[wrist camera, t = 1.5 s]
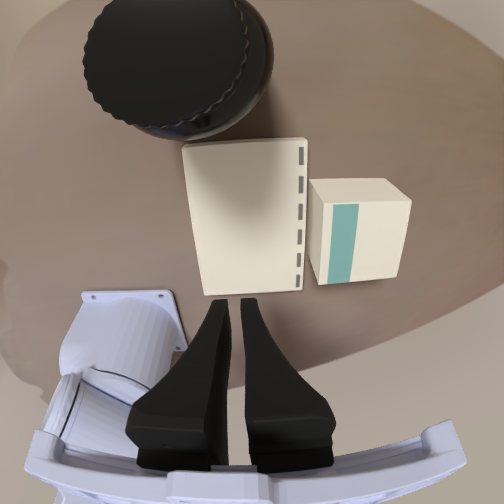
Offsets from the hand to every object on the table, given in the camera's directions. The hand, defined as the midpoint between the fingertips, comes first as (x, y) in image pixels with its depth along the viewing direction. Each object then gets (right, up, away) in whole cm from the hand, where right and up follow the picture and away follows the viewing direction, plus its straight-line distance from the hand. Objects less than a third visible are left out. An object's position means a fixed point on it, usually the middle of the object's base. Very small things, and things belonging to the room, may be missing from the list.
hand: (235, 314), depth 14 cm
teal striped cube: (+8, +6, +9) cm, 13 cm away
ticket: (+1, +5, +8) cm, 10 cm away
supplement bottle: (-2, +15, +3) cm, 15 cm away
